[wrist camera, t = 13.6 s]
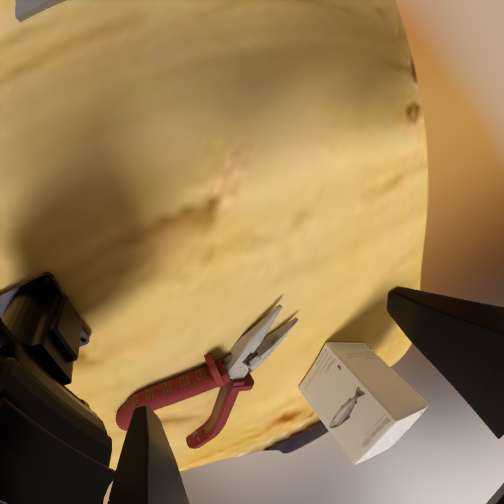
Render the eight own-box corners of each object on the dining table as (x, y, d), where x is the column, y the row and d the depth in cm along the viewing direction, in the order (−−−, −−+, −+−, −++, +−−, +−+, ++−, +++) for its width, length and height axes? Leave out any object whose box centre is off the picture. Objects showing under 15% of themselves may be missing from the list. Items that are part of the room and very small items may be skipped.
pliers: (313, 329, 29) (327, 344, 27) (192, 437, 30) (198, 453, 27) (241, 271, 23) (254, 287, 21) (110, 411, 24) (111, 431, 21)
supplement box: (324, 340, 30) (399, 419, 19) (364, 341, 33) (431, 404, 23) (294, 388, 32) (353, 467, 21) (336, 384, 35) (392, 448, 24)
